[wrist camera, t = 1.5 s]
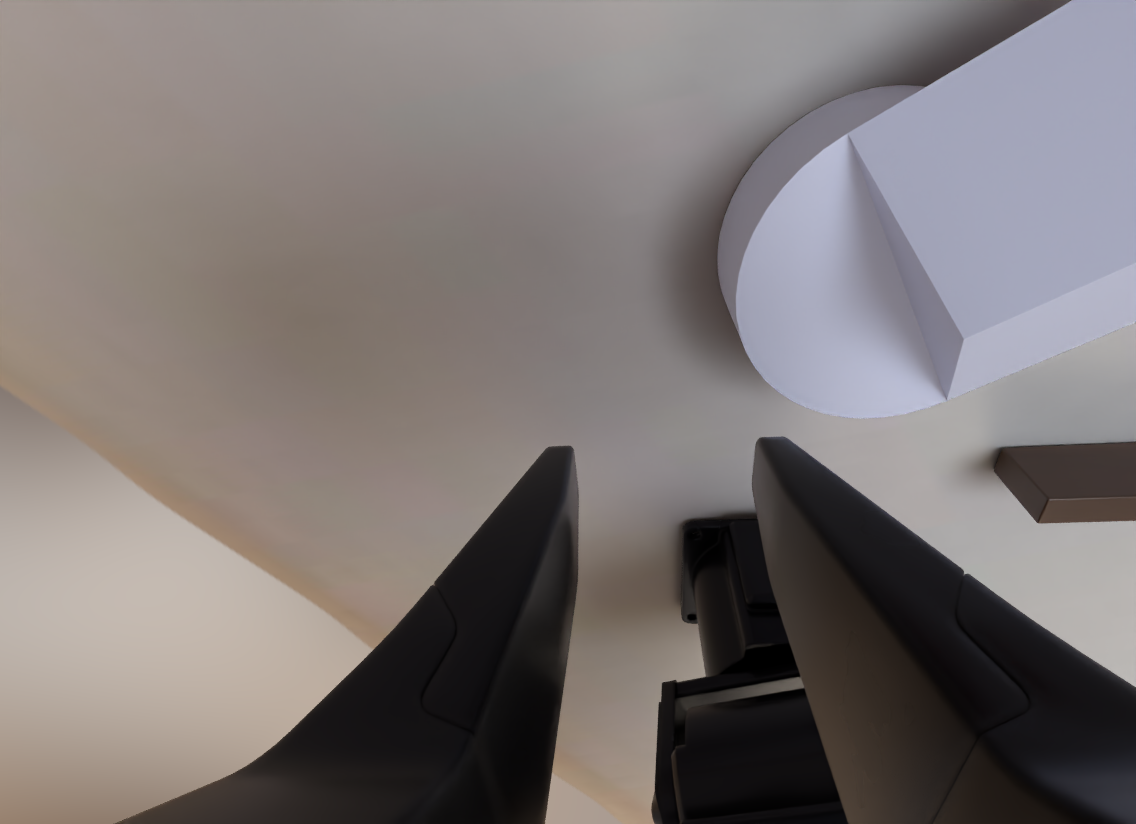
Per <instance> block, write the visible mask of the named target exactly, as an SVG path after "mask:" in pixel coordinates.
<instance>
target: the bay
mask: <svg viewBox="0 0 1136 824" xmlns="http://www.w3.org/2000/svg"><path fill="white" fill-rule="evenodd" d="M994 472H995V473H996V474H997V476H998V477H999V478H1000V479H1001V480H1002V482H1003V483H1004V484H1005V485H1006V486H1007V488H1008V489H1009V490H1010V491H1011V492H1012V493H1013V495H1014V496H1015V497H1016V498H1017V499H1018V501H1019V502H1020V503H1021V504H1022V505H1023V507H1024V508H1025V509H1026V510H1027V511H1028V513H1029V514H1030V515H1031V516H1032V517H1033V518H1034V520H1035V521H1036V522H1037V523H1070V522H1106V521H1136V443H1113V444H1087V445H1062V446H1037V447H1011V448H1002V450H1001V453H1000V455H999V458H998V461H997V463H996V466H995V468H994Z"/></svg>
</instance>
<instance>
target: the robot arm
mask: <svg viewBox="0 0 1136 824" xmlns="http://www.w3.org/2000/svg"><path fill="white" fill-rule="evenodd" d="M752 490H753V497H754V502H755V507H756V513H757V518H758V519H738V520H705V521H690V522H688V523H686V524H685V525H684V526H683V534H682V584H681V615H682V619H683V621H684V622H687V623H691V624H697V623H698V628H699V634H700V641H701V647H702V654H703V661H704V667H705V674H706V677H703V678H698V679H692V680H687V681H682V682H677V681H676V680H673V681H668V682H663V683H662V696H661V702H659V710H658V731H657V752H656V773H655V792H654V797H653V801H652V817H653V821H654V823H655V824H1136V687H1134V686H1133V685H1131V684H1130V683H1128V682H1126V681H1125V680H1123V679H1122V678H1120V677H1119V676H1117V675H1115V674H1114V673H1112V672H1111V671H1109V670H1108V669H1106V668H1105V667H1103V666H1101V665H1100V664H1098V663H1097V662H1095V661H1094V660H1092V659H1090V658H1089V657H1087V656H1086V655H1084V654H1083V653H1081V652H1080V651H1078V650H1077V649H1075V648H1074V647H1072V646H1071V645H1069V644H1068V643H1066V642H1065V641H1063V640H1062V639H1060V638H1059V637H1057V636H1055V635H1054V634H1052V633H1051V632H1049V631H1048V630H1046V629H1045V628H1043V627H1042V626H1040V625H1039V624H1037V623H1036V622H1034V621H1033V620H1032V619H1030V618H1029V617H1027V616H1026V615H1025V614H1023V613H1022V612H1020V611H1019V610H1018V609H1016V608H1015V607H1013V606H1012V605H1011V604H1009V603H1008V602H1006V601H1005V600H1004V599H1002V598H1001V597H999V596H998V595H997V594H995V593H994V592H993V591H991V590H990V589H989V588H987V587H986V586H985V585H983V584H982V583H980V582H979V581H978V580H976V579H975V578H974V577H972V576H971V575H970V574H965V575H964V571H963V569H961V568H960V567H959V566H957V565H956V564H955V563H953V562H952V561H951V560H949V559H948V558H947V557H945V556H944V555H943V554H941V553H940V552H939V551H937V550H936V549H935V548H933V547H932V546H931V545H929V544H928V543H927V542H925V541H924V540H923V539H921V538H920V537H919V536H917V535H916V534H915V533H913V532H912V531H911V530H909V529H908V528H907V527H905V526H904V525H903V524H901V523H900V522H899V521H897V520H896V519H895V518H893V517H892V516H891V515H889V514H888V513H887V512H885V511H884V510H883V509H881V508H880V507H879V506H877V505H876V504H875V503H873V502H872V501H871V500H869V499H868V498H867V497H865V496H864V495H863V494H861V493H860V492H859V491H857V490H856V489H854V488H853V487H852V486H850V485H849V484H848V483H846V482H845V481H844V480H842V479H841V478H840V477H838V476H837V475H836V474H834V473H833V472H832V471H830V470H829V469H828V468H826V467H825V466H824V465H822V464H821V463H820V462H818V461H817V460H816V459H814V458H813V457H812V456H810V455H809V454H808V453H806V452H805V451H804V450H802V449H801V448H800V447H798V446H797V445H796V444H794V443H793V442H792V441H790V440H789V439H787V438H786V437H762V438H759V439H758V440H757V442H756V446H755V456H754V465H753V475H752ZM578 518H579V494H578V481H577V472H576V463H575V454H574V449H573V448H572V447H571V446H551V447H548V448H546V449H545V450H544V452H543V453H542V454H541V455H540V456H539V458H538V459H537V460H536V461H535V462H534V464H533V465H532V466H531V467H530V468H529V470H528V471H527V472H526V473H525V474H524V475H523V477H522V478H521V479H520V480H519V481H518V483H517V484H516V485H515V486H514V487H513V489H512V490H511V491H510V492H509V493H508V495H507V496H506V497H505V498H504V499H503V501H502V502H501V503H500V504H499V505H498V507H497V508H496V509H495V510H494V511H493V513H492V514H491V515H490V516H489V517H488V519H487V520H486V521H485V522H484V523H483V525H482V526H481V527H480V528H479V529H478V531H477V532H476V533H475V534H474V535H473V537H472V538H471V539H470V540H469V541H468V542H467V544H466V545H465V546H464V547H463V548H462V550H461V551H460V552H459V553H458V554H457V556H456V557H455V558H454V559H453V560H452V562H451V563H450V564H449V565H448V566H447V568H446V569H445V570H444V571H443V572H442V574H441V575H440V576H439V577H438V578H437V580H436V581H435V583H434V585H435V586H434V585H432V586H430V588H429V589H428V590H427V591H426V592H425V594H424V595H423V596H422V597H421V598H420V600H419V601H418V602H417V603H416V604H415V605H414V607H413V608H412V609H411V610H410V611H409V612H408V613H407V614H406V616H405V617H404V618H403V619H402V620H401V621H400V622H399V624H398V625H397V626H396V627H395V628H394V629H393V630H392V631H391V632H390V633H389V634H388V635H387V636H386V637H385V638H384V640H383V641H382V642H381V643H380V644H379V645H378V646H377V647H376V648H375V649H374V650H373V651H372V652H371V653H370V654H369V655H368V656H367V657H366V658H365V659H364V660H363V661H362V662H361V663H360V664H359V665H358V666H357V667H356V668H355V669H354V670H353V671H352V672H351V673H350V674H349V675H348V676H346V678H344V680H342V681H341V682H340V683H339V684H338V685H337V686H336V687H335V688H334V689H333V690H332V691H331V692H330V693H329V694H328V695H327V696H326V697H325V698H324V699H323V700H322V701H321V702H320V703H319V704H318V705H317V706H316V707H315V708H314V709H313V710H312V711H311V712H310V713H308V714H307V716H306V717H304V718H303V719H302V720H301V721H300V722H299V723H298V724H297V725H296V726H295V727H294V728H293V729H292V730H291V731H290V732H289V733H288V734H287V735H286V736H285V737H283V738H282V739H281V740H280V741H279V742H278V743H277V744H276V745H275V746H273V747H272V748H271V749H269V750H268V751H267V752H266V753H264V754H263V755H262V756H260V757H259V758H257V759H256V760H255V761H253V762H252V763H250V764H249V765H247V766H246V767H244V768H242V769H240V770H238V771H237V772H235V773H233V774H231V775H229V776H227V777H225V778H223V779H220V780H218V781H215V782H213V783H211V784H208V785H206V786H203V787H201V788H199V789H196V790H194V791H192V792H189V793H187V794H185V795H182V796H180V797H177V798H175V799H172V800H170V801H167V802H165V803H163V804H160V805H158V806H156V807H153V808H151V809H148V810H146V811H144V812H141V813H139V814H136V815H135V816H132V817H130V818H127V819H124V820H122V821H120V822H117V823H115V824H545V818H546V811H547V804H548V796H549V789H550V781H551V775H552V767H553V760H554V753H555V746H556V738H557V731H558V724H559V717H560V709H561V702H562V695H563V688H564V680H565V673H566V666H567V659H568V651H569V644H570V637H571V630H572V622H573V615H574V608H575V601H576V592H577V583H578ZM695 531H696V532H697V533H692V532H695Z"/></svg>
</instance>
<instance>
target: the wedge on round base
mask: <svg viewBox="0 0 1136 824" xmlns="http://www.w3.org/2000/svg"><path fill="white" fill-rule="evenodd" d="M717 259H718V276H719V281H720V287H721V291H722V294H723V297H724V299H725V302H726V305H727V307H728V310H729V312H730V315H731V317H732V320H733V322H734V324H735V327H736V329H737V332H738V334H739V336H740V339H741V341H742V344H743V346H744V349H745V351H746V353H747V355H748V356H749V358H750V360H751V362H752V364H753V366H754V367H755V368H756V370H757V371H758V372H759V373H760V375H761V376H762V377H763V378H764V380H765V381H766V382H767V383H769V384H770V385H771V386H772V387H773V388H774V389H775V390H776V391H777V392H779V393H780V394H782V395H783V396H785V397H786V398H788V399H789V400H791V401H793V402H795V403H797V404H799V405H801V406H803V407H806V408H808V409H811V410H814V411H817V412H820V413H824V414H828V415H833V416H839V417H846V418H863V419H864V418H883V417H890V416H896V415H903V414H907V413H911V412H915V411H919V410H923V409H926V408H929V407H932V406H935V405H937V404H940V403H943V402H946V401H948V400H951V399H953V398H955V397H958V396H960V395H963V394H965V393H967V392H970V391H972V390H975V389H977V388H979V387H982V386H984V385H987V384H989V383H991V382H994V381H996V380H999V379H1001V378H1004V377H1006V376H1008V375H1011V374H1013V373H1016V372H1018V371H1020V370H1023V369H1025V368H1028V367H1030V366H1032V365H1035V364H1037V363H1040V362H1042V361H1044V360H1047V359H1049V358H1052V357H1054V356H1056V355H1059V354H1061V353H1064V352H1066V351H1068V350H1071V349H1073V348H1076V347H1078V346H1080V345H1083V344H1085V343H1088V342H1090V341H1092V340H1095V339H1097V338H1100V337H1102V336H1104V335H1107V334H1109V333H1112V332H1114V331H1116V330H1119V329H1121V328H1124V327H1126V326H1128V325H1131V324H1133V323H1136V0H1072V1H1070V2H1069V3H1067V4H1065V5H1064V6H1062V7H1060V8H1059V9H1057V10H1055V11H1053V12H1052V13H1050V14H1048V15H1047V16H1045V17H1043V18H1042V19H1040V20H1038V21H1037V22H1035V23H1033V24H1032V25H1030V26H1028V27H1026V28H1025V29H1023V30H1021V31H1020V32H1018V33H1016V34H1015V35H1013V36H1011V37H1010V38H1008V39H1006V40H1004V41H1003V42H1001V43H999V44H998V45H996V46H994V47H993V48H991V49H989V50H988V51H986V52H984V53H982V54H981V55H979V56H977V57H976V58H974V59H972V60H971V61H969V62H967V63H966V64H964V65H962V66H961V67H959V68H957V69H955V70H954V71H952V72H950V73H949V74H947V75H945V76H944V77H942V78H940V79H939V80H937V81H935V82H933V83H932V84H930V85H928V86H927V87H923V86H911V85H893V86H883V87H875V88H871V89H866V90H862V91H858V92H854V93H851V94H848V95H846V96H843V97H841V98H838V99H836V100H833V101H830V102H828V103H827V104H825V105H823V106H821V107H819V108H817V109H815V110H814V111H812V112H810V113H808V114H807V115H805V116H804V117H802V118H801V119H799V120H798V121H797V122H795V123H794V124H792V125H791V126H789V127H788V128H787V129H786V130H785V131H784V132H783V133H781V134H780V135H779V136H778V137H777V138H776V139H775V140H774V141H772V142H771V143H770V144H769V145H768V147H767V148H766V149H765V150H764V151H763V152H762V153H761V154H760V155H759V157H758V158H757V159H756V160H755V161H754V163H753V164H752V165H751V167H750V168H749V170H748V171H747V173H746V174H745V175H744V177H743V178H742V180H741V182H740V184H739V185H738V187H737V189H736V191H735V193H734V195H733V197H732V199H731V201H730V204H729V206H728V209H727V211H726V214H725V216H724V220H723V224H722V228H721V232H720V236H719V245H718V254H717Z"/></svg>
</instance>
